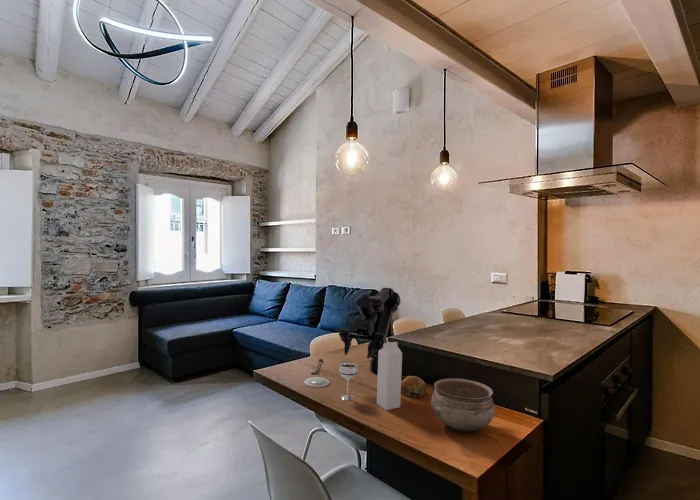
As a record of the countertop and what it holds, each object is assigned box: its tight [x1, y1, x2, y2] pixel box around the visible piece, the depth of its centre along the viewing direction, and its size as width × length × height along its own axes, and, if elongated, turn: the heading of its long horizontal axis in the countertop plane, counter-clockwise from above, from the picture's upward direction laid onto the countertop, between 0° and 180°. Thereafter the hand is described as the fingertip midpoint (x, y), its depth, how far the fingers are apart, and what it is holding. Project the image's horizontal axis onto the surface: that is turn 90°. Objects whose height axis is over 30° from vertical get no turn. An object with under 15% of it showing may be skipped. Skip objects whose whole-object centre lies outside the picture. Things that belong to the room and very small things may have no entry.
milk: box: [376, 341, 403, 411], centre depth 135 cm, size 6×6×22 cm
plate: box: [304, 376, 330, 388], centre depth 155 cm, size 10×10×1 cm
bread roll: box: [401, 375, 427, 398], centre depth 148 cm, size 10×10×8 cm
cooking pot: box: [430, 378, 496, 433], centre depth 120 cm, size 25×19×12 cm
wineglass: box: [338, 361, 359, 401], centre depth 141 cm, size 7×7×12 cm
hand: (356, 356), depth 148 cm, fingers open, 9 cm apart
